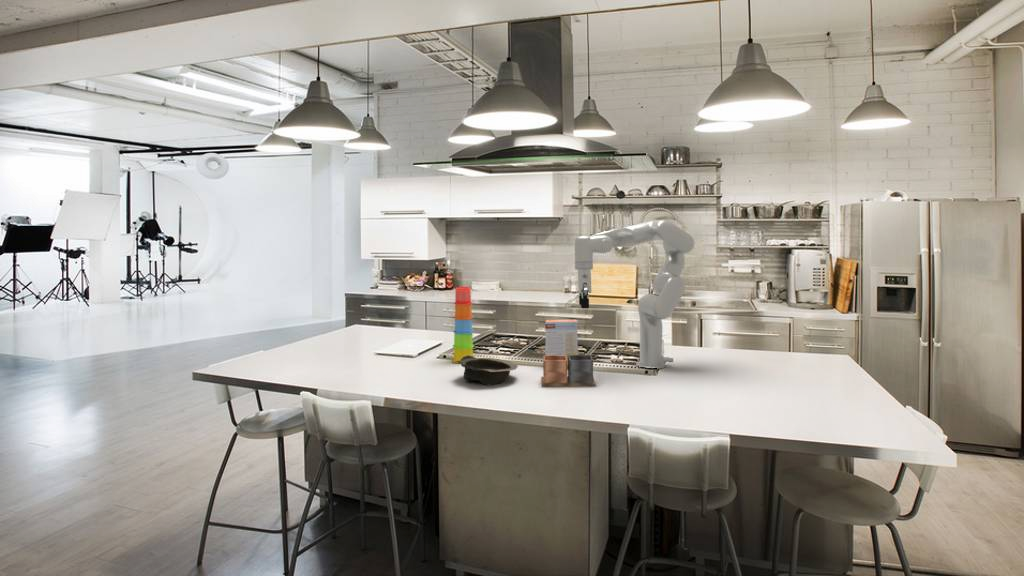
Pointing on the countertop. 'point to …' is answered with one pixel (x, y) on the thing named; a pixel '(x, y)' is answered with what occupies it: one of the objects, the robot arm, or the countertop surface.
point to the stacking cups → (463, 324)
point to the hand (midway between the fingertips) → (584, 306)
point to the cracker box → (561, 337)
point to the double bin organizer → (577, 371)
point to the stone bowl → (486, 369)
